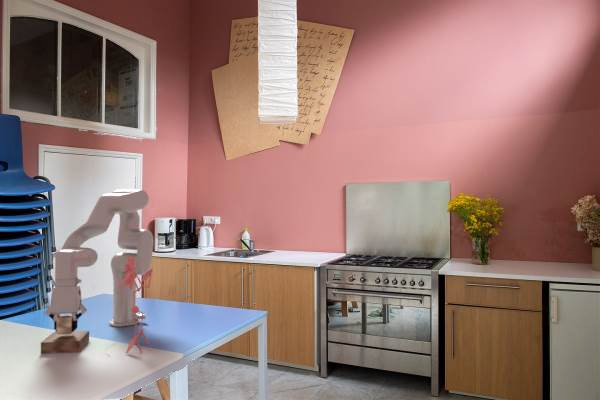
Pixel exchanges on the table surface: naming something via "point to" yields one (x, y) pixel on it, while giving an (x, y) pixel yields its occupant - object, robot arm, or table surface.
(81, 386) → the table surface
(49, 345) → the walnut base
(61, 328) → the maple block
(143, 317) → the robot arm
